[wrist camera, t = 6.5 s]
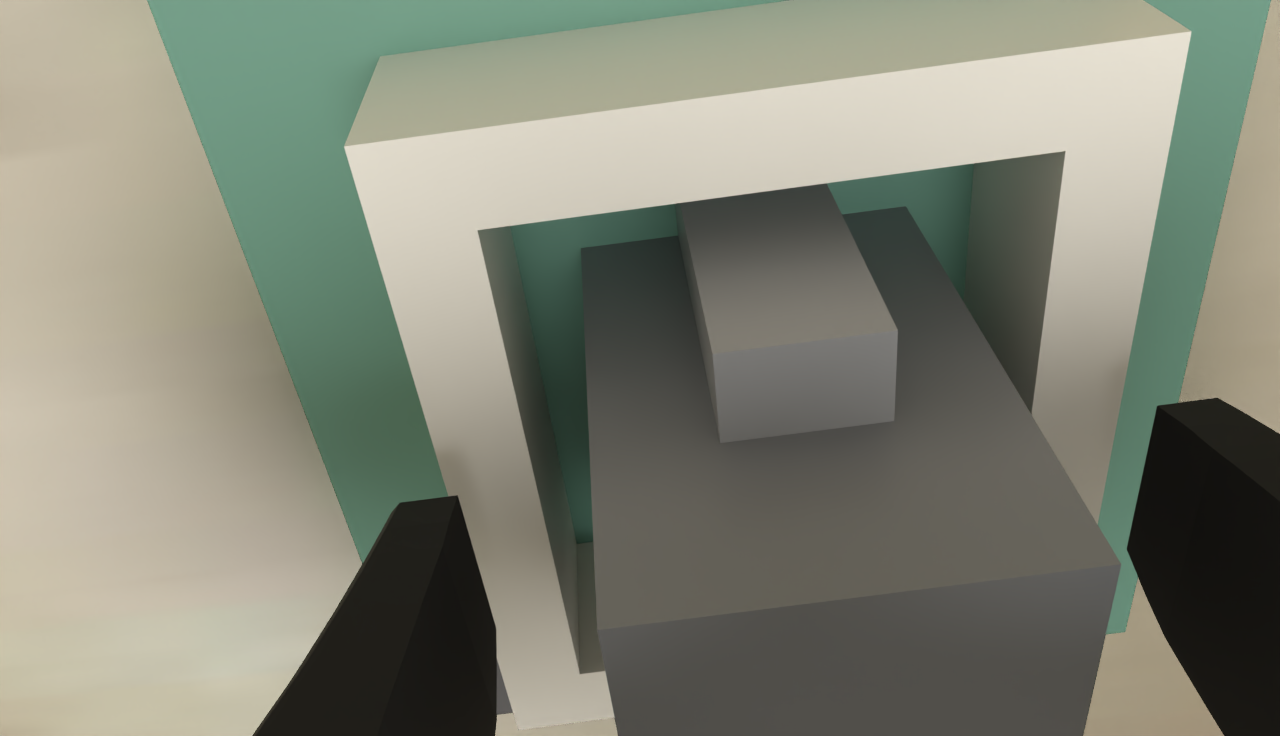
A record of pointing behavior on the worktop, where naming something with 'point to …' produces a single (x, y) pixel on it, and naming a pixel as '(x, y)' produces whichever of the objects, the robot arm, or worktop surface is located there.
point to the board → (591, 227)
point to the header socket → (742, 164)
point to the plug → (824, 490)
